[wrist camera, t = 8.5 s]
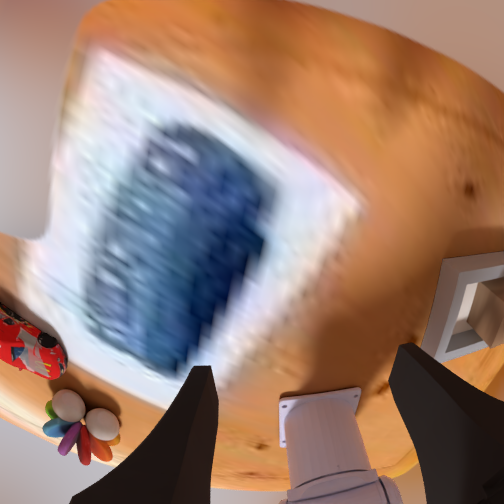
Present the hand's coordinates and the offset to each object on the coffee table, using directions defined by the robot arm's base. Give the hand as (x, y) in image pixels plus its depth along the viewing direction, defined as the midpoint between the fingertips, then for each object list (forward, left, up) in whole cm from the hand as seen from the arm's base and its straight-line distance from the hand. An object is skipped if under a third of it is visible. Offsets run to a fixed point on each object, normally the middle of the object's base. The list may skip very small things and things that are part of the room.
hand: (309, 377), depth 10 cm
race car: (-6, +27, -11) cm, 29 cm away
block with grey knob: (-6, -21, -10) cm, 24 cm away
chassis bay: (-6, -21, -10) cm, 24 cm away
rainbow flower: (-18, +23, -11) cm, 31 cm away
